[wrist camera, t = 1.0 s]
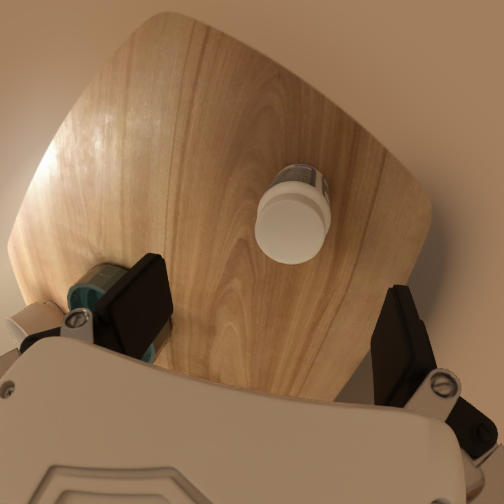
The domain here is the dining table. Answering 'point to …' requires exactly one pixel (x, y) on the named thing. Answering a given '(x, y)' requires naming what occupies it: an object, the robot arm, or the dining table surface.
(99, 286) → the bowl
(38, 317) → the teacup
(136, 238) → the dining table surface
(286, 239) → the pill bottle
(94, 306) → the robot arm
